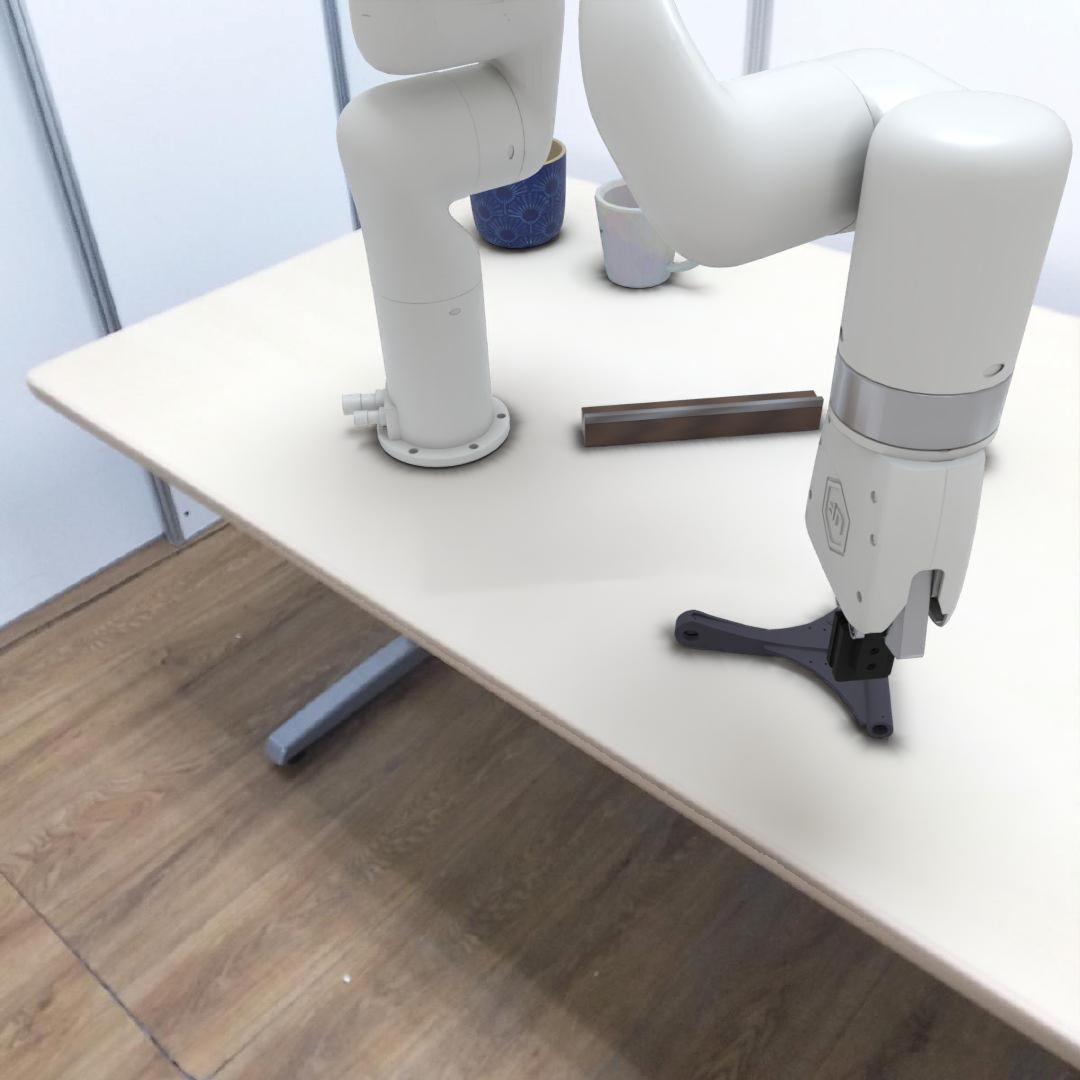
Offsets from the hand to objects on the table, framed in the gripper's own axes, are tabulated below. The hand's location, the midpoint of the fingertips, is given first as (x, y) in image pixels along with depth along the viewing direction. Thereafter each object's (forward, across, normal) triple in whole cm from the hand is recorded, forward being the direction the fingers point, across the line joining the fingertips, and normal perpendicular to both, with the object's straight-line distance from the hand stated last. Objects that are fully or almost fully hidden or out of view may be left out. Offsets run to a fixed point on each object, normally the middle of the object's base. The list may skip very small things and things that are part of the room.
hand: (857, 669), depth 59 cm
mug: (+10, -73, +1) cm, 74 cm away
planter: (+10, -88, -14) cm, 90 cm away
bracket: (+11, -12, 0) cm, 17 cm away
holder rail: (+10, -41, 0) cm, 43 cm away
